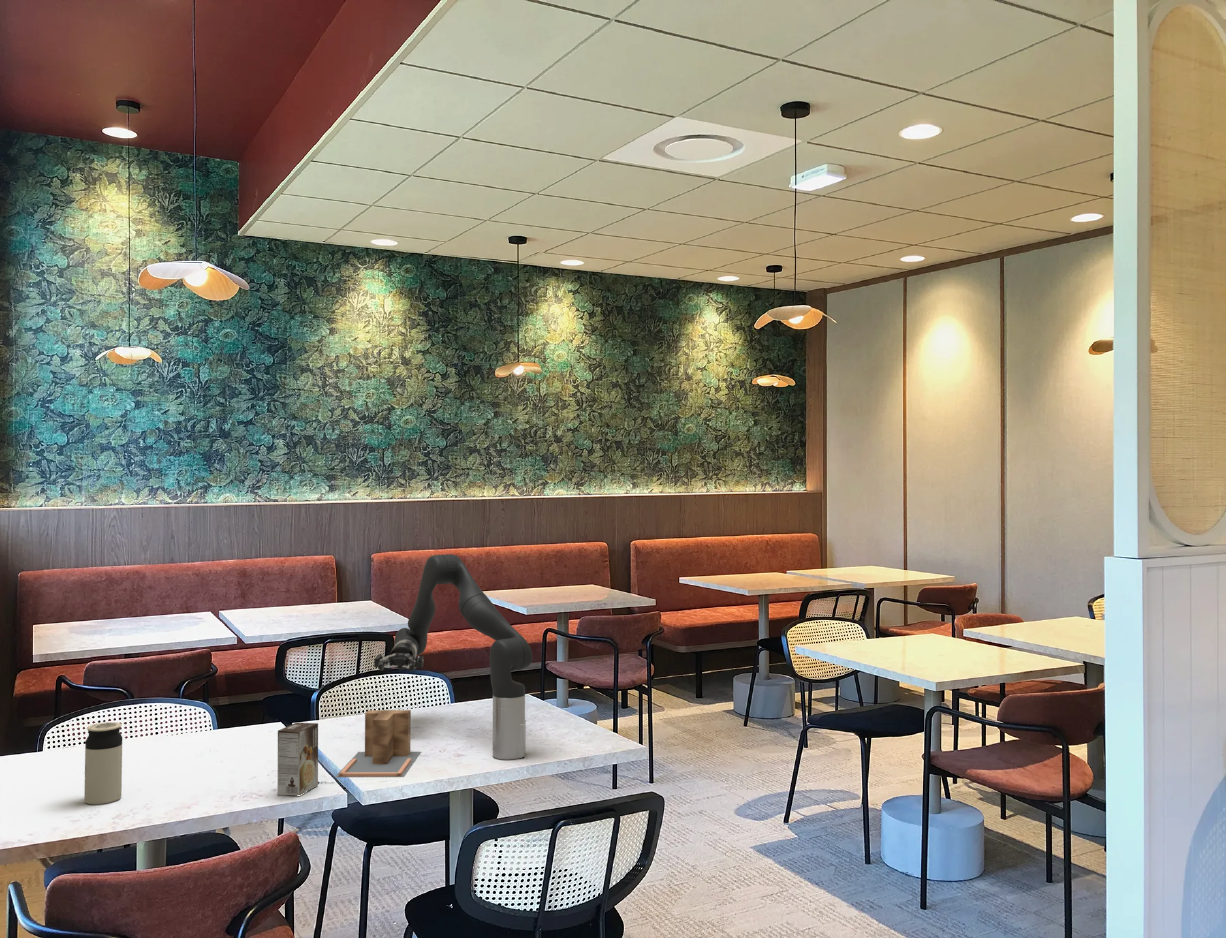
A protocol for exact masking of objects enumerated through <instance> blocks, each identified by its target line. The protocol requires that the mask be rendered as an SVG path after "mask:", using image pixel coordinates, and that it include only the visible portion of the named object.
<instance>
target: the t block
mask: <svg viewBox="0 0 1226 938" xmlns="http://www.w3.org/2000/svg"><path fill="white" fill-rule="evenodd" d="M411 713H412V710H411V709H401V710H400V709H396V710H395V709H394V710H393V709H387V710H385V709H383V710H382V709H381V710H380V709H379V710H378V709H377V710H376V709H375V710H374V709H371V710H369V709H368V710H367V711H366V712H365V713H364V752H365V756H372V764H388V763H389V761H390V760H391V759H392V757H393V756H408V755H409V754H410V752H411V741H412V740H411V739H412V738H411V727H412V726H411V722H412V721H411V720H412V719H411V718H412V717H411V716H412V714H411Z"/></svg>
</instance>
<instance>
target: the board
mask: <svg viewBox="0 0 1226 938" xmlns="http://www.w3.org/2000/svg"><path fill="white" fill-rule="evenodd" d="M421 753H422V751H410V754H409V755H408V756H393V757H392V759H391V760H390V761H389V763H388V764H372V756H365V751H357V753H356V754H355V755H354V756H353V757H352V758H351V759H350V760H349V761H348V762H347V763H346V764H345V765H344V767H343V768H342V769H340V771H339V772H338V773H336V775H335V777H334V778H405V777H406V775H407V774H408V772H409V771H410V769H411V768H412V766H413V765H414V763H415V762H416V761H417V759H418V758H419V757H420V755H421Z"/></svg>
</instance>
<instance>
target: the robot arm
mask: <svg viewBox="0 0 1226 938" xmlns="http://www.w3.org/2000/svg"><path fill="white" fill-rule="evenodd" d="M449 584H451V585H453V586H454V587H455V588H456V589H457V591H458V592H459V598H458V599H459V600H458V610H459V612H460V614H461V616H462V618H463V619H465V621H466V622H467V623H468V625H469V626H470V627H472V629H474V630H476V632H479V633H481V634H483V635H484V636H487V637H489V638H491V639H493V640H494V641H493V643H492V644H491V647H490V649H489V669H490V670H489V671H490V672H489V673H490V686H491V690H492V757H493V758H494V757H495V758H494V759H498V760H516V759H523V758H522V757H524V758H525V756H526V753H527V751H526V750H527V748H526V747H527V746H526V739H527V738H526V737H527V735H526V732H527V730H526V729H527V725H526V722H527V720H526V686H525V684H524V683H521V682H519V681H515V680H513V678H512V672H515V671H521V670H524V669H526V668H528V667H529V666H531V664H532V661H533V652H532V649H531V646H530V644H529V642H528V641H527V640H526V639H525V638H524V637H523V636H522V635H521V633H519V632H518V630H516V629H515V628H514V627H513V626H512V625H511V624H510V623H509V621H507V620H506V619H505V617H504V616H503V615H502V614H501V612H499V610H498V609H497V608H496V606H495V605H494V603H493V602H492V601H491V600H490V598H489V597H488V596H487V595H486V593H484V591H483V590H482V589H481V587H480V586H479V585H478V583H477V582H476V581H475V580H474V577H473V576H472V575H471V573H470V571H469V570H468V568H467V566H466V564H465V563H464V562H463V560H462V559H461V558H460V557H459V556H458V555H456V554H453V553H450V554H435V555H431V556H429V557H428V558H427V559H426V561H425V564H424V568H423V570H422V575H421V580H420V583H419V587H418V588H419V589H418V593H417V597H416V601H415V604H414V607H413V609H412V611H411V613H410V615H409V618H408V620H407V627H402V628H400V629H398V630H397V632H396V634H395V636H394V639H393V640H394V641H393V645H394V646H393V648H392V649H391V651H390V653H389V655H386V656H384V655H383V654H382V653H380V654H377V655H376V656H375V657H374V662H373V668H377V669H378V670H379V671H381V672H382V671H383V670H384V669H385V668H386V669H387V668H388V669H390V668H395V669H398V670H405V669H409V670H408V671H409V672H413V671H415V669H417V668H418V669H422V668H423V667H424V655H422V654H423V653H424V652H425V650H426V648H427V645H428V635H429V628H430V626H431V623H432V621H433V619H434V617H435V613H436V603H435V600H434V597H433V596H434V595H433V592H434V589H435V588H436V586H437V585H449ZM525 752H526V753H525Z"/></svg>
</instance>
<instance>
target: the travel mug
mask: <svg viewBox="0 0 1226 938" xmlns="http://www.w3.org/2000/svg"><path fill="white" fill-rule="evenodd" d="M121 727H122V723H120V722H115V721H114V722H112V721H111V722H110V721H108V722H99V723H94V724H90V725H88V726H87V727H86V730H87V733H88V736H87V738H86V739H85V743H84V744H85V746H84V747H85V748H84V749H85V751H84V795H83V796H84V797H83V798H84V803H86V804H89V805H94V806H96V805H98V806H99V805H107V804H110V803H114V802H116V801H118V800H119V799H121V798H122V788H123V787H122V786H123V785H122V783H123V781H122V778H123V777H122V776H123V736H122V734H121V733H120V730H121Z"/></svg>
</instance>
